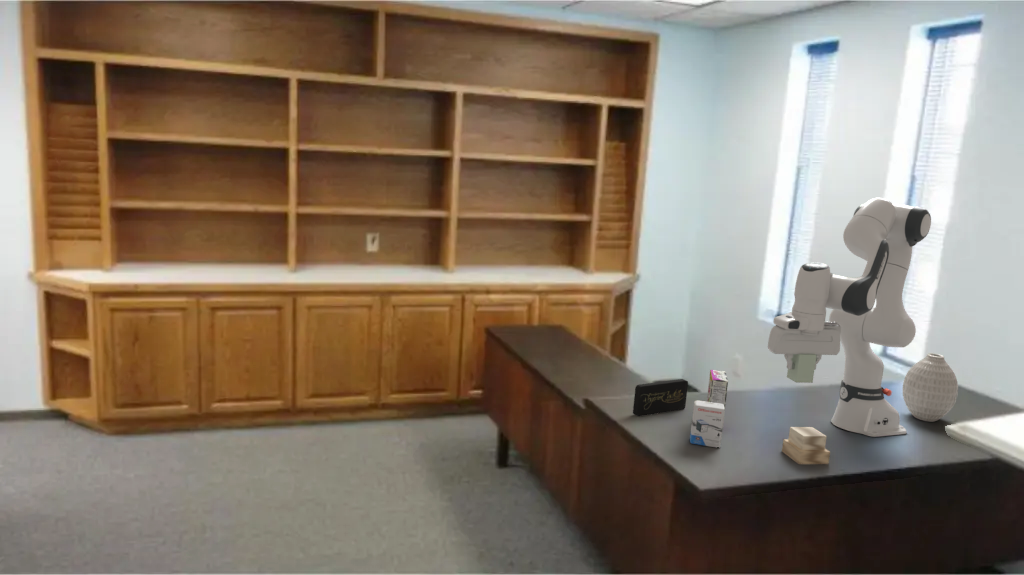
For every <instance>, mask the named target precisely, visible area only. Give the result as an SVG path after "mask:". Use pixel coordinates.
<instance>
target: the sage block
mask: <svg viewBox="0 0 1024 575" xmlns="http://www.w3.org/2000/svg"><path fill="white" fill-rule="evenodd" d="M791 360H792V362H793V363H795V369H791V370H790V369H787V374H786V378H788V379H789V380H790V381H792V382H794V383H798V384H799V383H802V384H803V383H804V384H806V383H807V384H812V383H813V381H814V376H815V370H814V369H815V362H816V355H815V354H793V358H791Z"/></svg>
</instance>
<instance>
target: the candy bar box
mask: <svg viewBox="0 0 1024 575" xmlns="http://www.w3.org/2000/svg"><path fill="white" fill-rule="evenodd" d="M709 370H710V371H709V379H708V388H707V397H706V402H713V403H720V404H723V405H724V406H725V407H726V405H727V404H726V403H727V395H728V386H729V379H728V376H727V372H726V371H725V370H718V369H709Z"/></svg>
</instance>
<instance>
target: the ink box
mask: <svg viewBox="0 0 1024 575" xmlns="http://www.w3.org/2000/svg"><path fill="white" fill-rule="evenodd" d="M692 410H693V411H692V417H691V420H692V421H691V427H690V433H689V443H690V444H692V445H699V446H705V447H713V448H717V447H719V448H721V445H722V444H721V443H722V437H723V430H724V420H725V412H726V405H725V406H724V405H723V404H720V403H713V402H707V400H705V401H704V400H699V399H698V400H694V402H693V409H692ZM719 448H718V449H719Z"/></svg>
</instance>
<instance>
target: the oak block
mask: <svg viewBox="0 0 1024 575" xmlns="http://www.w3.org/2000/svg"><path fill="white" fill-rule="evenodd" d="M781 452H782V453H783V454H785V455H786V456H787V457H789V458H790V459H792V460H793V461H794V462H795V463H796V464H798V465H829V463H830V456H831V451H830V450H829V449H827V448H825V450H801V449H800V448H798V447H797V446H796V445H794V444H793V443H791V442H790V441H788V438H787V439H786V438H785V439H784V438H783V439H782V447H781Z"/></svg>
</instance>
